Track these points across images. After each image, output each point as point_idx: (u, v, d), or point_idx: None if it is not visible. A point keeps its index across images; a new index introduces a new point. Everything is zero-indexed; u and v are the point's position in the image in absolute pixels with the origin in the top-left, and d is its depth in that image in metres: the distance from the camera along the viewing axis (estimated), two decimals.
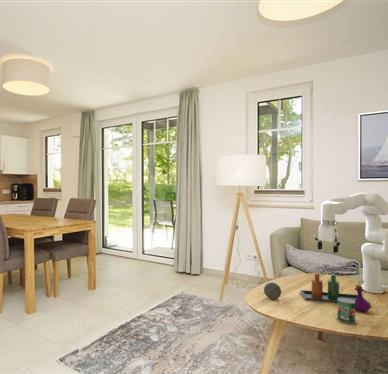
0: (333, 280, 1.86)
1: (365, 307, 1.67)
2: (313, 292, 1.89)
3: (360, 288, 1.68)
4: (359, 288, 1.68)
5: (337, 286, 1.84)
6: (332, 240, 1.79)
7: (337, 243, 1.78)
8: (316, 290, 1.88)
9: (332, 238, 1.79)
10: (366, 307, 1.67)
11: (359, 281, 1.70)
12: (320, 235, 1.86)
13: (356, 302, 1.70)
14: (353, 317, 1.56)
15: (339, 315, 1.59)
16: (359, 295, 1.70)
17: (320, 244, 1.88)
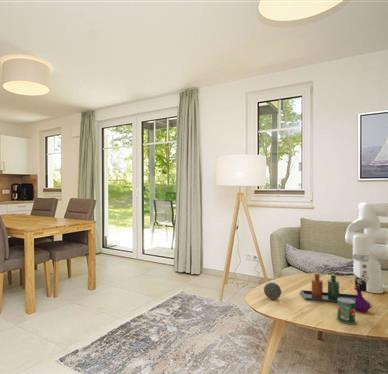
0: (333, 280, 1.86)
1: (365, 307, 1.67)
2: (313, 292, 1.89)
3: None
4: (358, 287, 1.69)
5: (337, 286, 1.84)
6: (359, 276, 1.67)
7: (362, 281, 1.66)
8: (316, 290, 1.88)
9: (359, 274, 1.67)
10: (365, 306, 1.67)
11: (358, 280, 1.71)
12: (353, 269, 1.74)
13: (356, 302, 1.70)
14: (353, 317, 1.56)
15: (339, 315, 1.59)
16: (359, 295, 1.70)
17: None
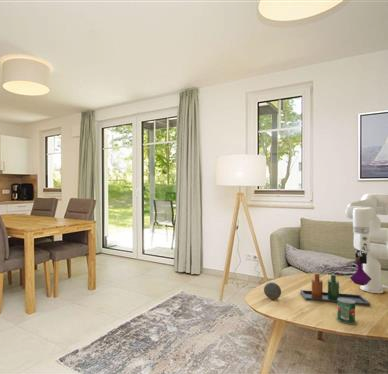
0: (333, 280, 1.86)
1: (365, 279, 1.67)
2: (313, 292, 1.89)
3: None
4: (359, 260, 1.69)
5: (337, 286, 1.84)
6: (360, 248, 1.67)
7: (362, 253, 1.66)
8: (316, 290, 1.88)
9: (359, 246, 1.66)
10: (366, 279, 1.67)
11: (359, 253, 1.71)
12: (354, 242, 1.74)
13: (356, 275, 1.71)
14: (353, 317, 1.56)
15: (339, 315, 1.59)
16: (359, 267, 1.70)
17: None
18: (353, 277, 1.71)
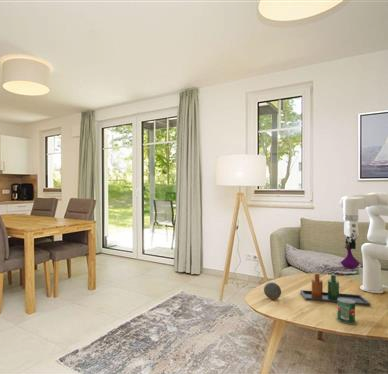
0: (333, 280, 1.86)
1: (354, 263, 1.81)
2: (313, 292, 1.89)
3: None
4: (348, 246, 1.83)
5: (337, 286, 1.84)
6: (349, 235, 1.81)
7: None
8: (316, 290, 1.88)
9: (349, 233, 1.81)
10: (355, 263, 1.81)
11: (348, 240, 1.85)
12: (344, 230, 1.88)
13: (346, 259, 1.85)
14: (353, 317, 1.56)
15: (339, 315, 1.59)
16: (349, 253, 1.84)
17: None
18: (343, 261, 1.85)
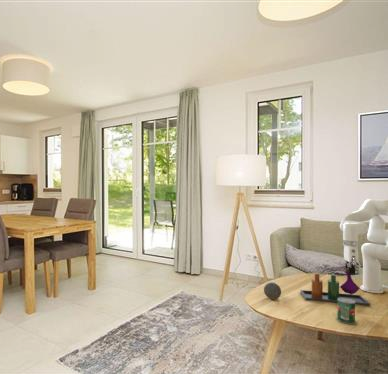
0: (333, 280, 1.86)
1: (354, 288, 1.82)
2: (313, 292, 1.89)
3: None
4: (348, 271, 1.83)
5: (337, 286, 1.84)
6: (349, 260, 1.81)
7: (351, 265, 1.81)
8: (316, 290, 1.88)
9: (349, 258, 1.81)
10: (354, 288, 1.82)
11: (348, 265, 1.85)
12: (344, 254, 1.88)
13: (346, 284, 1.85)
14: (353, 317, 1.56)
15: (339, 315, 1.59)
16: (348, 277, 1.85)
17: None
18: (342, 286, 1.86)
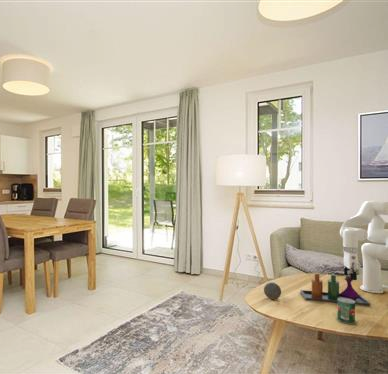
0: (333, 280, 1.86)
1: (354, 296, 1.82)
2: (313, 292, 1.89)
3: (349, 279, 1.83)
4: (348, 278, 1.83)
5: (337, 286, 1.84)
6: (349, 267, 1.81)
7: None
8: (316, 290, 1.88)
9: (349, 265, 1.81)
10: (354, 296, 1.82)
11: (348, 272, 1.85)
12: (344, 260, 1.88)
13: (346, 291, 1.85)
14: (353, 317, 1.56)
15: (339, 315, 1.59)
16: (348, 285, 1.85)
17: (347, 270, 1.89)
18: (342, 293, 1.86)
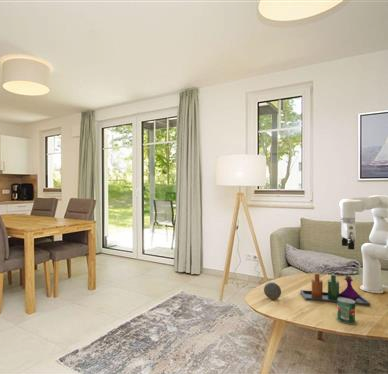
0: (333, 280, 1.86)
1: (354, 296, 1.82)
2: (313, 292, 1.89)
3: (349, 279, 1.83)
4: (348, 278, 1.83)
5: (337, 286, 1.84)
6: (347, 237, 1.86)
7: (350, 240, 1.83)
8: (316, 290, 1.88)
9: (346, 235, 1.86)
10: (354, 296, 1.82)
11: (348, 272, 1.85)
12: (341, 232, 1.93)
13: (346, 291, 1.85)
14: (353, 317, 1.56)
15: (339, 315, 1.59)
16: (348, 285, 1.85)
17: (344, 241, 1.94)
18: (342, 293, 1.86)
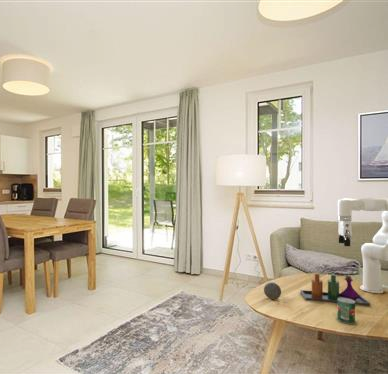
0: (333, 280, 1.86)
1: (354, 296, 1.82)
2: (313, 292, 1.89)
3: (349, 279, 1.83)
4: (348, 278, 1.83)
5: (337, 286, 1.84)
6: (343, 234, 1.93)
7: (346, 237, 1.90)
8: (316, 290, 1.88)
9: (343, 232, 1.93)
10: (354, 296, 1.82)
11: (348, 272, 1.85)
12: (338, 229, 2.00)
13: (346, 291, 1.85)
14: (353, 317, 1.56)
15: (339, 315, 1.59)
16: (348, 285, 1.85)
17: (341, 238, 2.01)
18: (342, 293, 1.86)
